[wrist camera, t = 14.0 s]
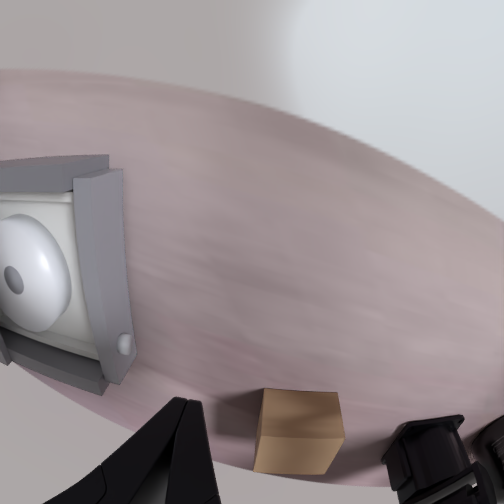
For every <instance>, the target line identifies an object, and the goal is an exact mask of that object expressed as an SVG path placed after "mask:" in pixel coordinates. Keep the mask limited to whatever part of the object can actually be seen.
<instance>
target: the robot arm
mask: <svg viewBox="0 0 504 504" xmlns="http://www.w3.org/2000/svg"><path fill="white" fill-rule="evenodd" d="M464 420H465V418H464V416H463V415H458V416H453V417H447V418H440V419H433V420H426V421H418V422H411V423H409V424H407V425H406V426H405V428H404V429H403V430H402V432H401V433H400V435H399V436H398V438H397V439H396V440H395V442H394V443H393V445H392V446H391V447H390V449H389V450H388V451H387V453H386V454H385V455H384V457H383V458H382V459H381V462H382V464H386V466H387V470H388V475H389V479H390V484H391V488H392V490H393V491H397V495H398V499H399V504H497V500H496V495H495V490H494V486H493V483H492V481H491V479H490V476H489V474H488V472H487V470H486V468H484V467H483V466H482V465H481V464H480V463H479V462H478V461H476V462H474V463H472V464H471V463H470V460H469V458H468V455H467V453H466V450H465V448H464V446H463V443H462V441H461V438H460V436H459V434H458V432H457V429H458V428H459V427H460V425H461V424H462V423H463V421H464ZM475 483H477V486H475V487H474V488H473V487H472V485H473V484H475ZM43 504H221V500H220V496H219V492H218V487H217V483H216V478H215V473H214V468H213V463H212V458H211V452H210V447H209V442H208V436H207V430H206V424H205V419H204V412H203V406H202V402H201V401H198V400H192V399H189V400H187V399H186V398H181V397H174V398H172V399H171V400H170V401H169V402H168V403H167V404H166V405H165V406H164V407H163V408H162V409H161V410H160V411H159V412H158V413H156V414H155V415H154V416H153V417H152V418H151V419H150V420H149V421H148V422H147V423H146V424H145V425H143V426H142V427H141V428H140V429H139V430H138V431H137V432H136V433H135V434H134V435H133V436H132V437H130V438H129V439H128V440H127V441H126V442H125V443H124V444H123V445H121V446H120V448H118V449H117V450H116V451H115V452H114V453H112V455H110V456H109V457H108V458H107V459H106V460H104V461H103V462H102V463H101V465H99V466H97V467H96V468H95V469H94V470H93V471H92V472H90V473H89V474H88V475H87V476H85V477H84V478H83V479H81V480H80V481H79V482H77V483H76V484H74V485H73V486H71V487H70V488H68V489H67V490H65V491H63V492H62V493H60V494H58V495H57V496H55V497H53V498H52V499H50V500H48V501H46V502H45V503H43Z"/></svg>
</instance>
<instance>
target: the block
mask: <svg viewBox="0 0 504 504" xmlns="http://www.w3.org/2000/svg"><path fill="white" fill-rule="evenodd" d="M344 440H345V433H344V427H343V421H342V415H341V409H340V404H339V398H338V393H333V392H307V391H291V390H278V389H267V388H264V393H263V399H262V404H261V410H260V416H259V421H258V426H257V434H256V446H255V457H254V468H253V472H260V473H274V474H302V475H320V474H325V472H326V470H327V469H328V467H329V466H330V464H331V462H332V461H333V459H334V457H335V456H336V454H337V452H338V451H339V449H340V447H341V445H342V444H343V442H344Z"/></svg>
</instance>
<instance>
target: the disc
mask: <svg viewBox="0 0 504 504" xmlns="http://www.w3.org/2000/svg"><path fill="white" fill-rule="evenodd" d="M71 294H72V284H71V277H70V272H69V268H68V265H67V262H66V259H65V257H64V254H63V252H62V250H61V248H60V246H59V245H58V243H57V241H56V240H55V238H54V237H53V236H52V234H51V233H50V232H49V231H48V229H47V228H46V227H45V226H44V225H43V224H42V223H40V222H39V221H38V220H36V219H35V218H33V217H31V216H29V215H26V214H14V215H11V216H9V217H6V218H4V219H2V220H0V308H1V309H2V311H3V312H4V313H5V314H6V315H7V316H8V317H9V318H10V319H11V320H12V321H13V322H15V323H16V324H17V325H19V326H21V327H22V328H24V329H27V330H29V331H33V332H42V331H45V330H47V329H48V328H49V327H50V326H51V325H52V324H53V323H54V322H55V321H56V320H57V319H58V318H59V317H60V316H61V315H62V314H63V313H64V312H65V311H66V310H67V308H68V306H69V304H70V300H71Z"/></svg>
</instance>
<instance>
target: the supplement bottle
mask: <svg viewBox="0 0 504 504" xmlns="http://www.w3.org/2000/svg"><path fill="white" fill-rule="evenodd" d="M471 451H472V454H473V456H474V459H475V461H478V462H479V463H480V464H481V465H482V466H483V467H484V468H486V470H487V472H488V474H489V476H490V479H491V481H492V483H493V486H494V490H495V495H496V500H497V504H504V416H503V417H502V418H500V419H498V420H497V421H495V422H494V423H492V424H491V425H490V426H488V427H487V428H486V429H485V430H484V431H483V432H482V433H481V434H480V435H479V436H478V437H477V438H476V439H475V441H474V442H473V444H472V448H471Z"/></svg>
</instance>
